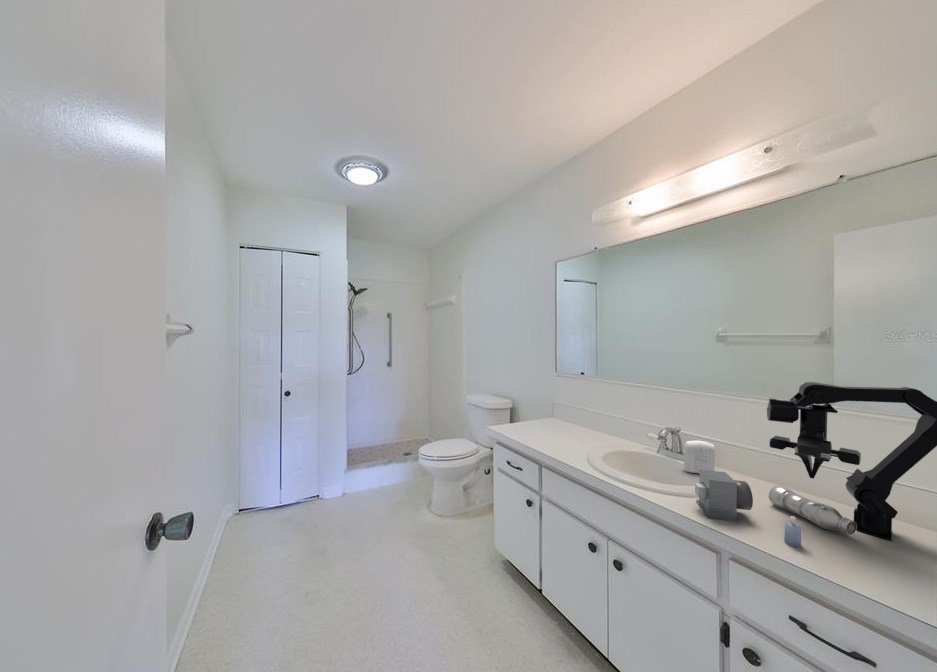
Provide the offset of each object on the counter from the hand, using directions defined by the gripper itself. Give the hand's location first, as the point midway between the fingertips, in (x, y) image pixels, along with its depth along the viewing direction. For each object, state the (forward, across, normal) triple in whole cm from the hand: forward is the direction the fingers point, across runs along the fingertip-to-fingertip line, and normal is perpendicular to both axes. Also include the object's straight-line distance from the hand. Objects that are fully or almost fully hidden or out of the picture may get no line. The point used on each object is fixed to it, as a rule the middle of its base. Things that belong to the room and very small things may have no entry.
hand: (812, 478), depth 103 cm
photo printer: (+12, -33, +12) cm, 37 cm away
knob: (+10, -18, -17) cm, 26 cm away
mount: (+12, -19, -18) cm, 28 cm away
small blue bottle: (+12, -1, -21) cm, 24 cm away
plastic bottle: (+9, -9, +3) cm, 13 cm away
